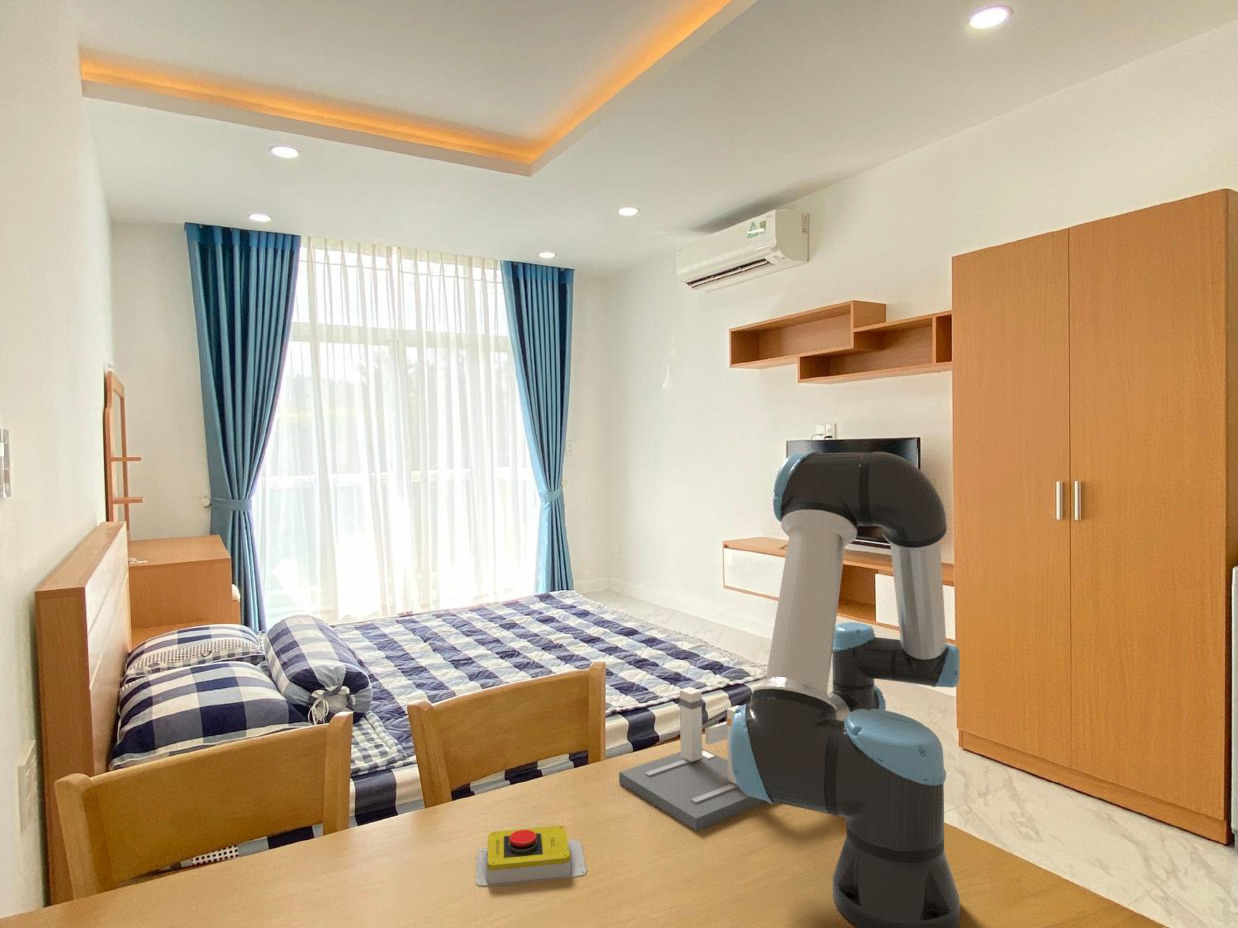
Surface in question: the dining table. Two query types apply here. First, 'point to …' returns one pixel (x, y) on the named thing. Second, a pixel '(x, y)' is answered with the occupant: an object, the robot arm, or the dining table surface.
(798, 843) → the dining table surface
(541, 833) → the emergency button
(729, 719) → the block
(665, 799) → the panel
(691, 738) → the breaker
